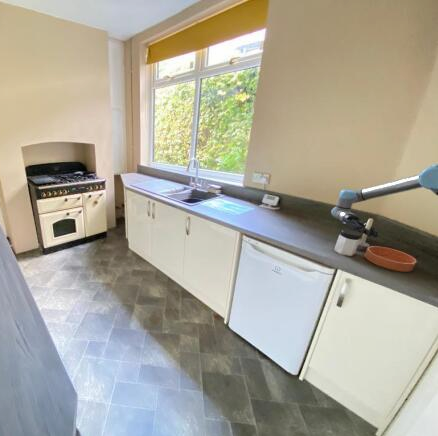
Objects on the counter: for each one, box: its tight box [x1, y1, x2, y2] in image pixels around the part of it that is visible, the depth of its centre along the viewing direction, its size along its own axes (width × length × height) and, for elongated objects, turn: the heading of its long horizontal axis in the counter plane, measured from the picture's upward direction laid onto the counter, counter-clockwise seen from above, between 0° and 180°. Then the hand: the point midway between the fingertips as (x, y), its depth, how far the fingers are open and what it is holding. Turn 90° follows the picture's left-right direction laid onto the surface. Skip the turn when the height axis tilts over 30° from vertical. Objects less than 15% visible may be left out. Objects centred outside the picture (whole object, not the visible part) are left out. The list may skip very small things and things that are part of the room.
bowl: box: [364, 245, 418, 273], centre depth 117 cm, size 17×17×5 cm
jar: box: [333, 228, 362, 257], centre depth 125 cm, size 9×8×12 cm
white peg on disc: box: [356, 218, 374, 252], centre depth 129 cm, size 6×6×18 cm
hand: (373, 234), depth 123 cm, fingers closed on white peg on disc, 2 cm apart
